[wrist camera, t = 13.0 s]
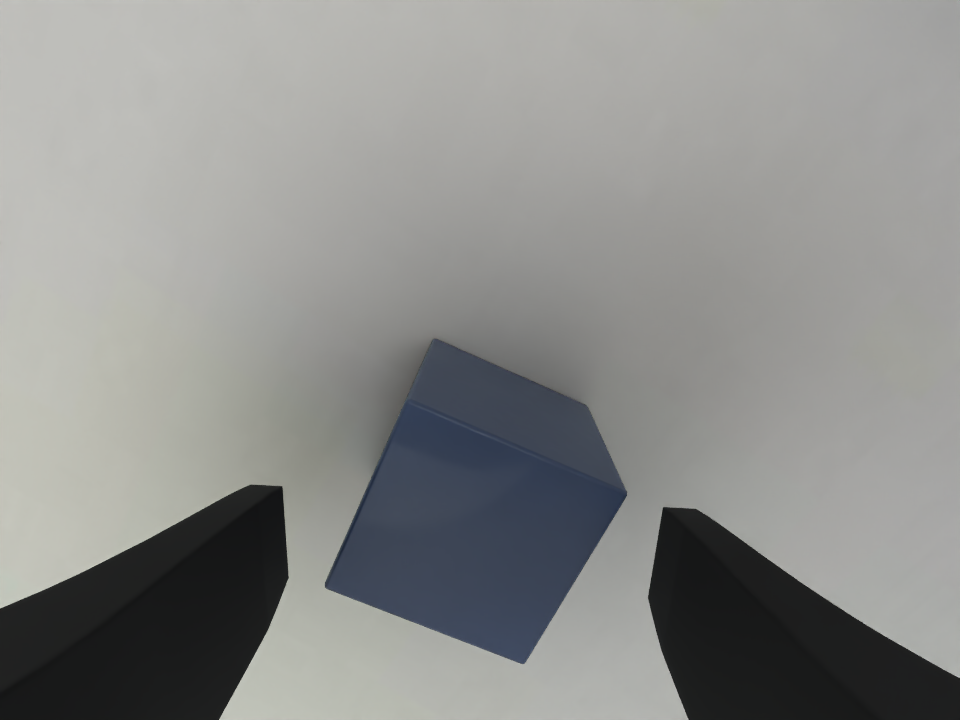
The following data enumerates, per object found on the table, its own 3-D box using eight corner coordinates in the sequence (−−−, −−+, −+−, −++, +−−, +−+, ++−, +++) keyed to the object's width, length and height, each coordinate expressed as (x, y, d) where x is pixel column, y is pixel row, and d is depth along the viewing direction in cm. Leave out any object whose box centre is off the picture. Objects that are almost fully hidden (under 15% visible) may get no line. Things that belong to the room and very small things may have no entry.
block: (515, 536, 15) (524, 667, 11) (371, 477, 15) (321, 589, 10) (588, 405, 14) (630, 494, 10) (434, 337, 13) (406, 398, 9)
